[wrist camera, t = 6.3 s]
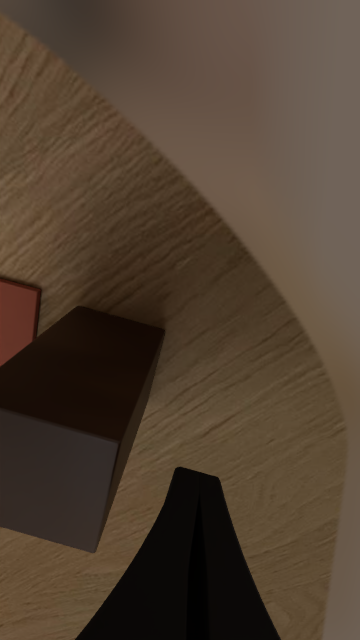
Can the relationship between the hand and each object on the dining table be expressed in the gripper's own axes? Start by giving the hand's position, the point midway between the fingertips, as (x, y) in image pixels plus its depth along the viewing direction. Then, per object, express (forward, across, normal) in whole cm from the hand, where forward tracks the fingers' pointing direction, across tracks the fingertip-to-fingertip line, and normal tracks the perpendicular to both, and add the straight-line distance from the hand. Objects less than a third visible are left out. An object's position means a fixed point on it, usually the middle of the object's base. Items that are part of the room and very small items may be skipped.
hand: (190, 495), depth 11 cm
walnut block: (+7, +4, 0) cm, 8 cm away
